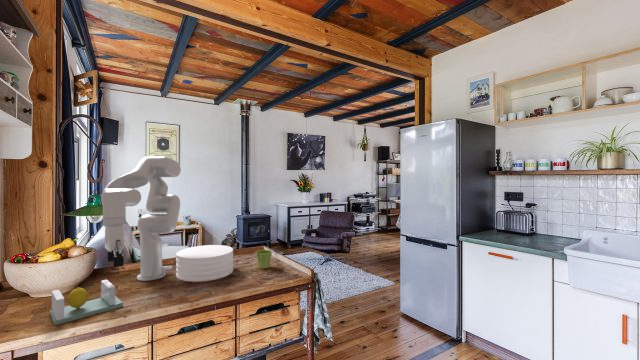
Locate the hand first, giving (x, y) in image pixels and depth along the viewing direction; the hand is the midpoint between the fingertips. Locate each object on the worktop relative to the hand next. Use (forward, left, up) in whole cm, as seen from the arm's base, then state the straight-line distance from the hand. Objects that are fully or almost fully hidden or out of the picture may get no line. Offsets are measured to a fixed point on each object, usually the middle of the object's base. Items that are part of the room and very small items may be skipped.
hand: (115, 263), depth 121 cm
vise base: (+9, 0, -16) cm, 18 cm away
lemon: (+12, 0, -14) cm, 19 cm away
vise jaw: (+3, 0, -14) cm, 14 cm away
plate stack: (-43, -10, -16) cm, 47 cm away
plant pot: (-69, +6, -16) cm, 71 cm away
